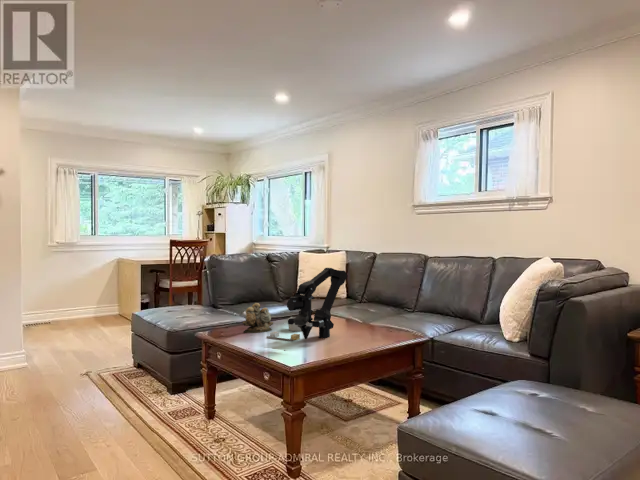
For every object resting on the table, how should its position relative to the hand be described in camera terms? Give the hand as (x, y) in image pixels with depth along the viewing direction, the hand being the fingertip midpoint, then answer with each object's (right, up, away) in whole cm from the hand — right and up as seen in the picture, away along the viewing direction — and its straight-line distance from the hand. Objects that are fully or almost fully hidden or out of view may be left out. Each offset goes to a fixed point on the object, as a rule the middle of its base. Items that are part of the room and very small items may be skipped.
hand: (305, 338), depth 229 cm
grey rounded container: (-6, -2, +28) cm, 29 cm away
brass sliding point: (-6, -1, +3) cm, 6 cm away
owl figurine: (-28, -2, +25) cm, 38 cm away
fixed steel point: (-17, -1, +9) cm, 19 cm away
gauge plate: (-12, -2, +7) cm, 14 cm away
